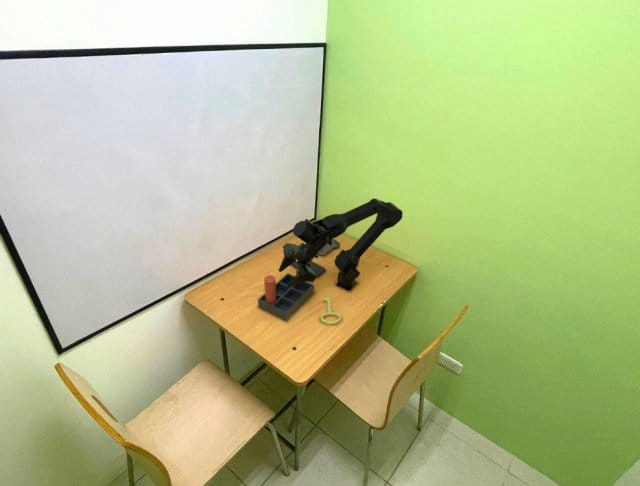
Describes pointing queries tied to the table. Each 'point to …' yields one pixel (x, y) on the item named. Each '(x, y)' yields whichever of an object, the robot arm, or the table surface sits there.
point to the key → (329, 313)
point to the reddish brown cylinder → (270, 289)
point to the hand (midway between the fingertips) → (283, 278)
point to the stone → (329, 247)
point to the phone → (315, 267)
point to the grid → (287, 298)
